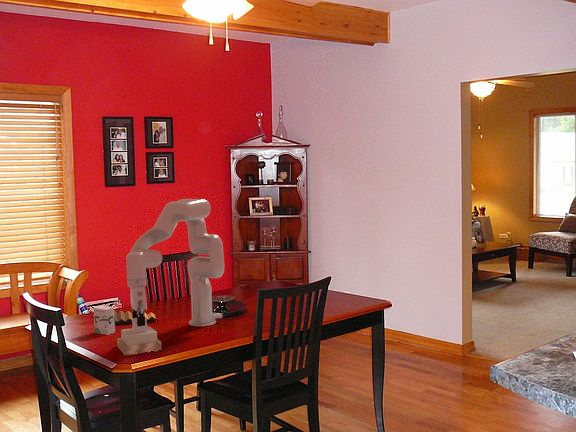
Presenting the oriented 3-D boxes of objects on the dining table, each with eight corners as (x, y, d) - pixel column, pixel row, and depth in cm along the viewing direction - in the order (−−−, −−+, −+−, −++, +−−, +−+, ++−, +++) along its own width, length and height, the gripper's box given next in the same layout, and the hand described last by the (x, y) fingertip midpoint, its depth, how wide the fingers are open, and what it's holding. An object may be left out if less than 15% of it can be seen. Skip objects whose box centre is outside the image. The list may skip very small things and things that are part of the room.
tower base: (153, 343, 296) (152, 333, 295) (161, 351, 282) (161, 342, 282) (117, 347, 290) (117, 338, 289) (124, 357, 276) (123, 347, 276)
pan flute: (102, 316, 349) (102, 327, 325) (102, 309, 349) (101, 320, 325) (152, 312, 355) (156, 323, 331) (152, 305, 355) (155, 316, 331)
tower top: (150, 335, 293) (149, 326, 293) (157, 341, 282) (156, 332, 282) (121, 339, 288) (121, 329, 288) (127, 345, 277) (127, 336, 277)
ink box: (93, 333, 313) (92, 307, 312) (101, 330, 317) (100, 305, 316) (108, 335, 309) (106, 309, 308) (115, 332, 313) (114, 306, 312)
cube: (144, 328, 288) (144, 316, 288) (147, 331, 284) (146, 319, 283) (132, 330, 286) (132, 318, 286) (134, 332, 282) (134, 320, 281)
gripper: (150, 284, 277) (152, 326, 278) (141, 278, 293) (143, 318, 294) (131, 286, 274) (133, 329, 275) (123, 280, 290) (125, 320, 291)
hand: (138, 323), depth 285 cm, fingers open, 9 cm apart
